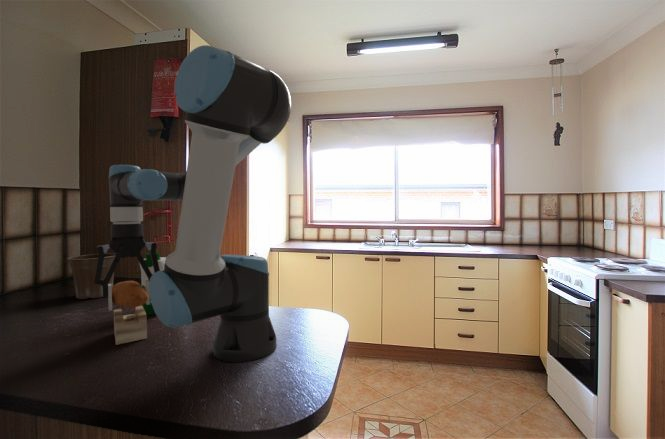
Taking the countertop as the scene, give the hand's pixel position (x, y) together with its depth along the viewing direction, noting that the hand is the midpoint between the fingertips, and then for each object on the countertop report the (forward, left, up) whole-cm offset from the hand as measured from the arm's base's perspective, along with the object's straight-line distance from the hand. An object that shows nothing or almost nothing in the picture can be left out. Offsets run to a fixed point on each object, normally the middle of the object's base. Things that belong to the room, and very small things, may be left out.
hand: (129, 306), depth 90 cm
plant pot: (+59, +9, -8) cm, 60 cm away
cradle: (0, 0, -8) cm, 8 cm away
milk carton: (+20, -9, -8) cm, 24 cm away
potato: (0, 0, -1) cm, 1 cm away
